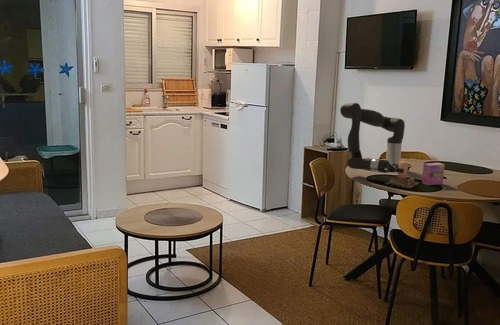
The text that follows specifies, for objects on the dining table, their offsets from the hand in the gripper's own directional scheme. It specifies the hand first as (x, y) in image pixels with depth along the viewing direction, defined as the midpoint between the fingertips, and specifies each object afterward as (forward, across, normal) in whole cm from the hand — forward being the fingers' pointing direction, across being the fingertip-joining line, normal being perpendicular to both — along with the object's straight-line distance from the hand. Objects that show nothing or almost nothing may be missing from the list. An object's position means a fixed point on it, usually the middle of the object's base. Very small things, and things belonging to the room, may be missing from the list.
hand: (406, 169), depth 284 cm
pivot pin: (-2, 0, +8) cm, 8 cm away
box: (+11, +13, +9) cm, 19 cm away
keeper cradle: (-2, 0, +9) cm, 9 cm away
